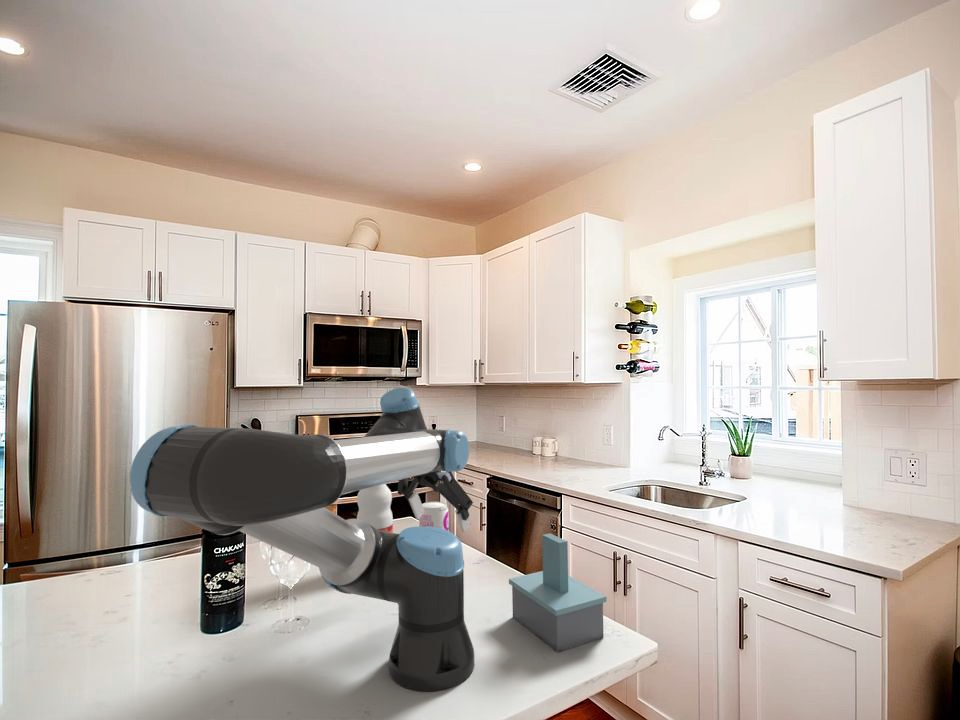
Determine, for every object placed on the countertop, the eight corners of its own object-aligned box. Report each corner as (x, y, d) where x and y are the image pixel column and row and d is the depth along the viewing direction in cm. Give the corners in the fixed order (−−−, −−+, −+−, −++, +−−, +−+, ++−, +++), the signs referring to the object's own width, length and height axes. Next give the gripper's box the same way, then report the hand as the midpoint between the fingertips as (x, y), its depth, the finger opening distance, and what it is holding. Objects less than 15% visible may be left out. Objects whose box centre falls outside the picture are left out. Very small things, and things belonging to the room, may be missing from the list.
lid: (606, 601, 102) (605, 545, 102) (556, 616, 96) (555, 556, 96) (554, 572, 117) (554, 523, 117) (508, 583, 111) (508, 531, 112)
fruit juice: (350, 570, 139) (349, 464, 139) (380, 560, 145) (379, 459, 146) (369, 579, 132) (368, 468, 133) (400, 569, 139) (399, 463, 139)
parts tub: (603, 637, 102) (602, 601, 102) (557, 652, 97) (556, 614, 97) (555, 605, 116) (554, 573, 116) (512, 617, 111) (512, 583, 111)
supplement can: (451, 553, 150) (450, 501, 151) (446, 564, 142) (445, 508, 142) (423, 552, 151) (422, 500, 151) (417, 563, 143) (416, 508, 143)
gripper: (472, 449, 111) (494, 521, 121) (385, 434, 124) (411, 500, 134) (454, 472, 106) (479, 546, 115) (365, 454, 119) (393, 521, 129)
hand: (442, 521), depth 125 cm, fingers open, 13 cm apart
